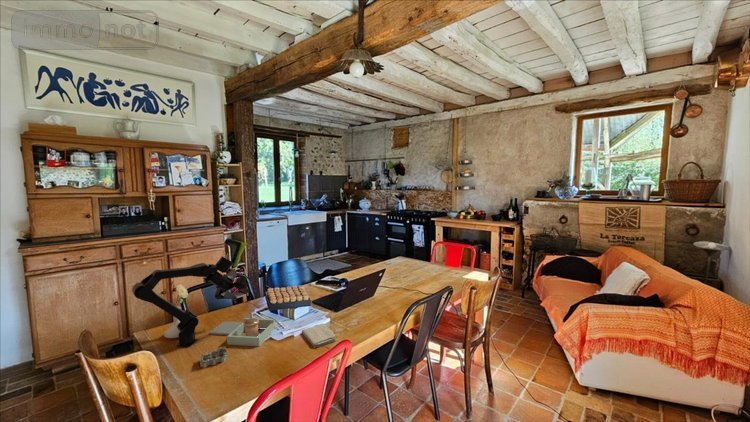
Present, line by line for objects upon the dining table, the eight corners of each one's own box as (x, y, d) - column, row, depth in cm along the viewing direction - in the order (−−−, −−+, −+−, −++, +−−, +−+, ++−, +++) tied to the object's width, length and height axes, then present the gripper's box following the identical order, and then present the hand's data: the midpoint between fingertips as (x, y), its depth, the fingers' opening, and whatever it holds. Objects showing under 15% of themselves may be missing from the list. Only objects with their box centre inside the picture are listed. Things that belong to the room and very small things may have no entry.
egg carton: (227, 353, 141) (226, 345, 141) (227, 362, 134) (227, 353, 134) (199, 360, 136) (199, 351, 136) (199, 369, 130) (198, 360, 129)
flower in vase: (178, 341, 152) (173, 291, 149) (158, 339, 154) (153, 290, 151) (198, 328, 165) (194, 282, 162) (179, 327, 167) (175, 281, 164)
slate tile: (231, 335, 157) (231, 333, 157) (209, 334, 158) (209, 332, 158) (244, 324, 168) (244, 322, 168) (224, 323, 170) (223, 321, 170)
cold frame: (259, 346, 146) (258, 334, 145) (227, 344, 148) (226, 333, 148) (274, 329, 162) (274, 319, 161) (245, 328, 164) (245, 317, 163)
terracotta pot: (255, 340, 151) (254, 324, 150) (241, 340, 152) (240, 324, 151) (262, 333, 158) (261, 318, 157) (249, 332, 159) (248, 317, 158)
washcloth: (314, 350, 143) (314, 343, 142) (300, 334, 158) (300, 328, 157) (338, 341, 149) (338, 335, 149) (322, 327, 164) (322, 321, 164)
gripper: (237, 260, 162) (259, 276, 171) (211, 274, 167) (234, 289, 176) (231, 278, 154) (254, 293, 162) (204, 292, 159) (228, 306, 168)
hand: (242, 295), depth 167 cm, fingers open, 9 cm apart
